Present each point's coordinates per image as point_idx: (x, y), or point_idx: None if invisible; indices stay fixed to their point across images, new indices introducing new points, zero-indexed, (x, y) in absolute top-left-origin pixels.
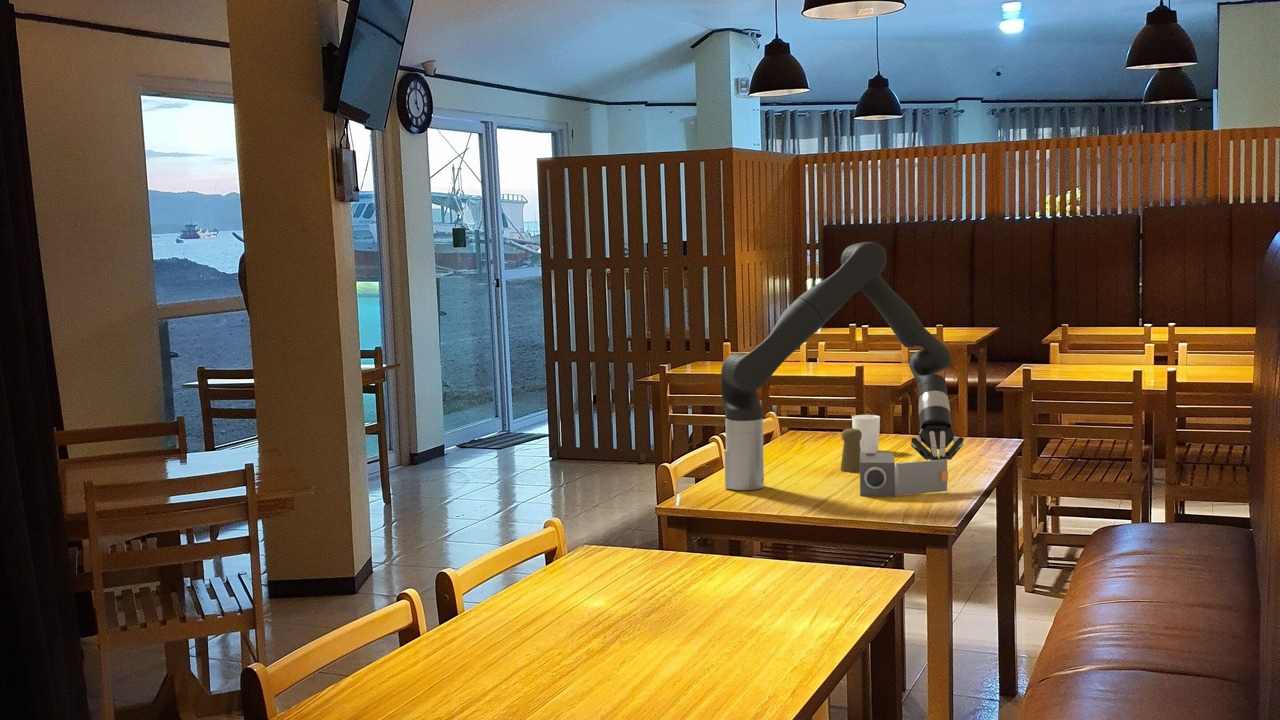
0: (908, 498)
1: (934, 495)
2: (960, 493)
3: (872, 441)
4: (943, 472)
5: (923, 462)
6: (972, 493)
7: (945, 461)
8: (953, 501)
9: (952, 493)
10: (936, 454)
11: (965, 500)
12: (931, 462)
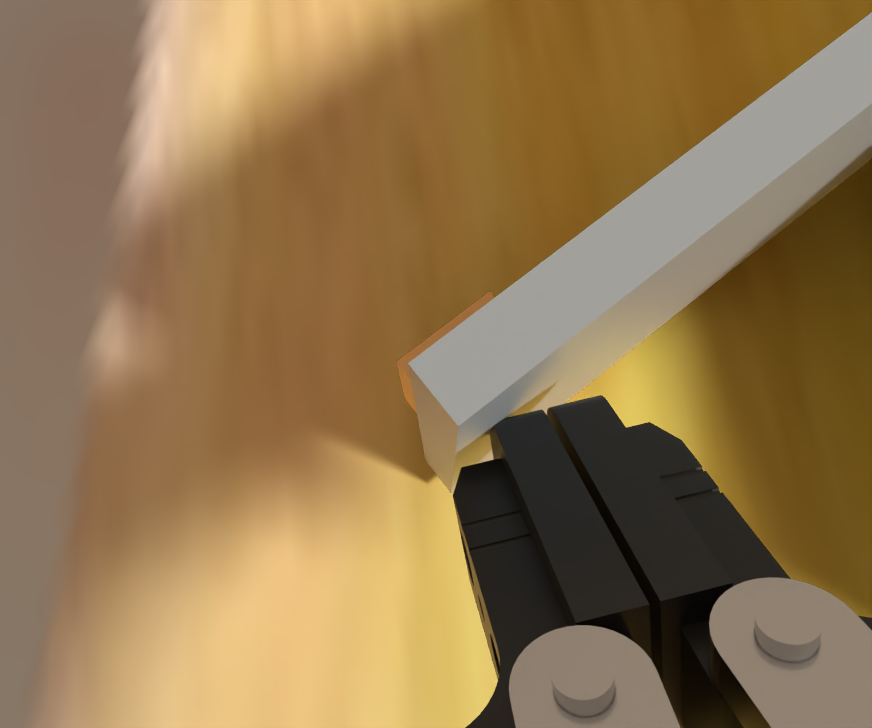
0: (768, 76)
1: None
2: (269, 478)
3: None
4: (465, 315)
5: (850, 33)
6: (130, 518)
7: (443, 347)
8: (309, 65)
9: (360, 451)
10: (751, 641)
11: (194, 139)
12: (708, 146)
